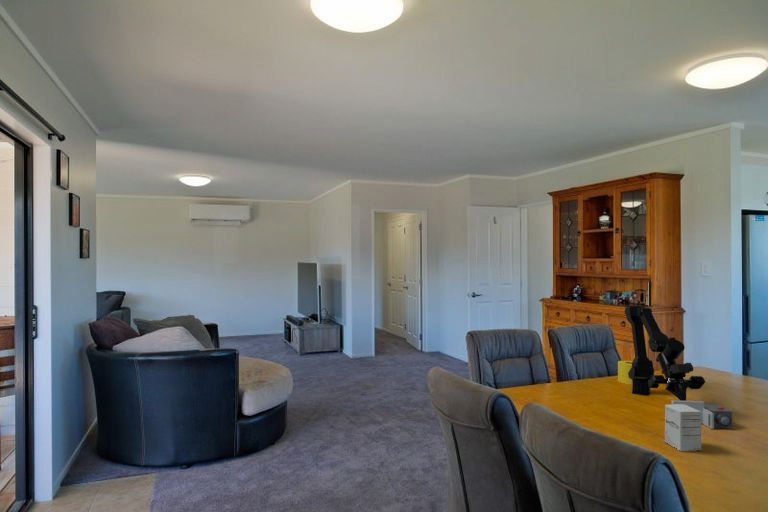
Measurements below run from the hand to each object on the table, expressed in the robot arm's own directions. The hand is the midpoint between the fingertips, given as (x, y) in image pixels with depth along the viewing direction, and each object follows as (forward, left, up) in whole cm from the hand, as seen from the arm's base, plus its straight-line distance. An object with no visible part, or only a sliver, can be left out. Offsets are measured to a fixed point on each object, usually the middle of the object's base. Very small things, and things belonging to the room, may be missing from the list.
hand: (684, 402), depth 173 cm
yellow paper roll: (-23, +49, -7) cm, 55 cm away
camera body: (+9, +2, -7) cm, 12 cm away
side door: (+2, -5, -7) cm, 8 cm away
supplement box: (-1, -29, -7) cm, 30 cm away
